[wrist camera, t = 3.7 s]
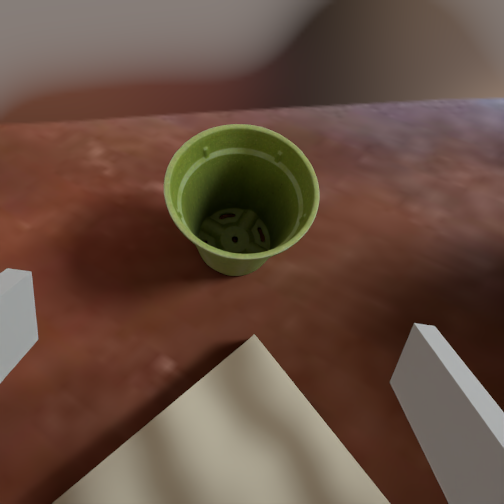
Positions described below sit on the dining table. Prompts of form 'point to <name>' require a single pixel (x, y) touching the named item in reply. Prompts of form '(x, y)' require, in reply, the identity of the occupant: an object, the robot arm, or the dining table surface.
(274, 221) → the plant pot
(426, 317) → the dining table surface
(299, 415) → the shelf board
